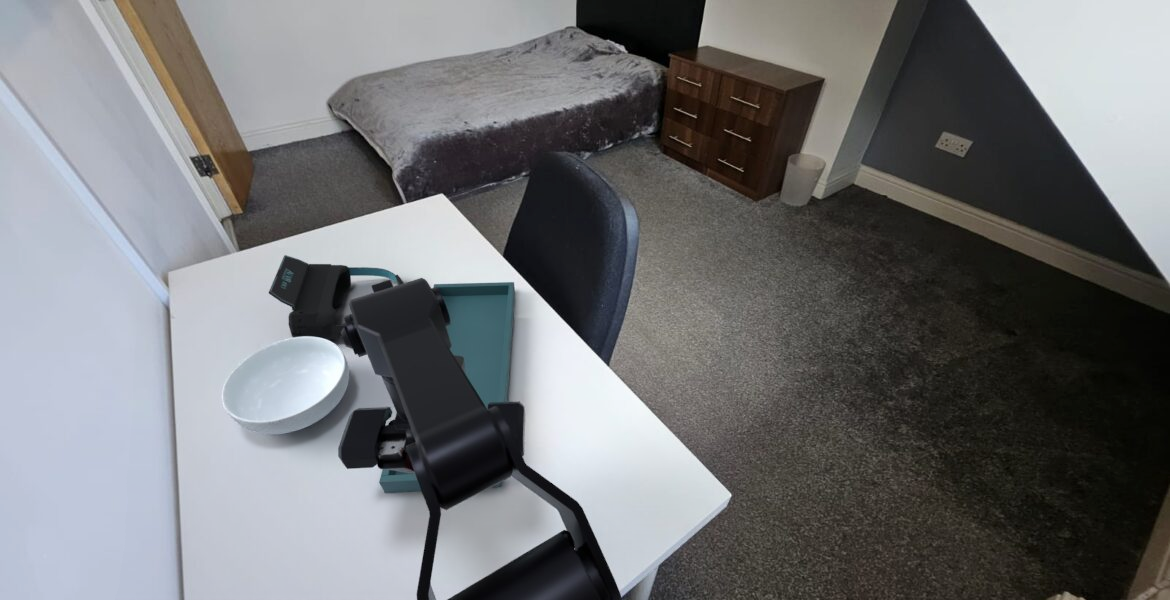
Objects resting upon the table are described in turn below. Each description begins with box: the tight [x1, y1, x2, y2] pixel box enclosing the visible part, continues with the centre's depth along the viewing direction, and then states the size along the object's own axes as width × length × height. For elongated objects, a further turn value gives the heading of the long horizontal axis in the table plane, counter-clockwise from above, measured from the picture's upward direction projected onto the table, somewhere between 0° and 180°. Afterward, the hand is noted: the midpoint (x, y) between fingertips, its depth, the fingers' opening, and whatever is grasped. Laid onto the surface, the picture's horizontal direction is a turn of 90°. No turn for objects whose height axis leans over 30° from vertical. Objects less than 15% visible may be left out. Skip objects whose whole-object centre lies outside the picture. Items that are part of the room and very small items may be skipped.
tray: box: [378, 281, 516, 494], centre depth 80 cm, size 42×16×3 cm, turn 4°
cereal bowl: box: [221, 336, 350, 435], centre depth 74 cm, size 17×17×7 cm
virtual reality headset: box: [268, 254, 404, 340], centre depth 90 cm, size 19×22×10 cm
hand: (450, 471), depth 56 cm, fingers closed on apple, 5 cm apart
